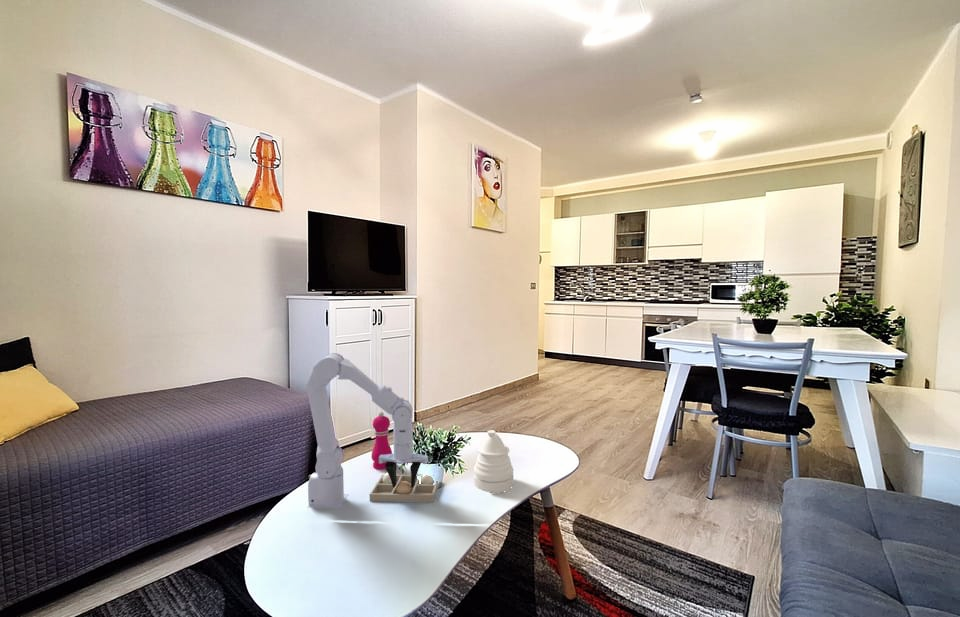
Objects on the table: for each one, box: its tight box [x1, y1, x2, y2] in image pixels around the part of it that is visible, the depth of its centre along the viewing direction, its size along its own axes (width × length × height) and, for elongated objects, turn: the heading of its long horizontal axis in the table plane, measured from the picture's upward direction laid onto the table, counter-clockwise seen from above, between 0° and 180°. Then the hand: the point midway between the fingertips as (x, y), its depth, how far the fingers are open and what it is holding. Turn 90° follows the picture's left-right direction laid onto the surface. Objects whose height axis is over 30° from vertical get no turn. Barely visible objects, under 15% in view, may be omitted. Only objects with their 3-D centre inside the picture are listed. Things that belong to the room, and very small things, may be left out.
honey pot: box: [473, 429, 514, 494], centre depth 135 cm, size 13×13×18 cm
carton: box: [369, 474, 439, 503], centre depth 130 cm, size 19×13×3 cm
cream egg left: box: [383, 471, 392, 484], centre depth 133 cm, size 4×4×4 cm
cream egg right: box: [421, 474, 434, 485], centre depth 132 cm, size 4×4×4 cm
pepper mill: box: [370, 411, 393, 471], centre depth 148 cm, size 7×7×20 cm
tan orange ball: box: [396, 481, 411, 494], centre depth 126 cm, size 4×4×4 cm
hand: (403, 486), depth 126 cm, fingers open, 5 cm apart
